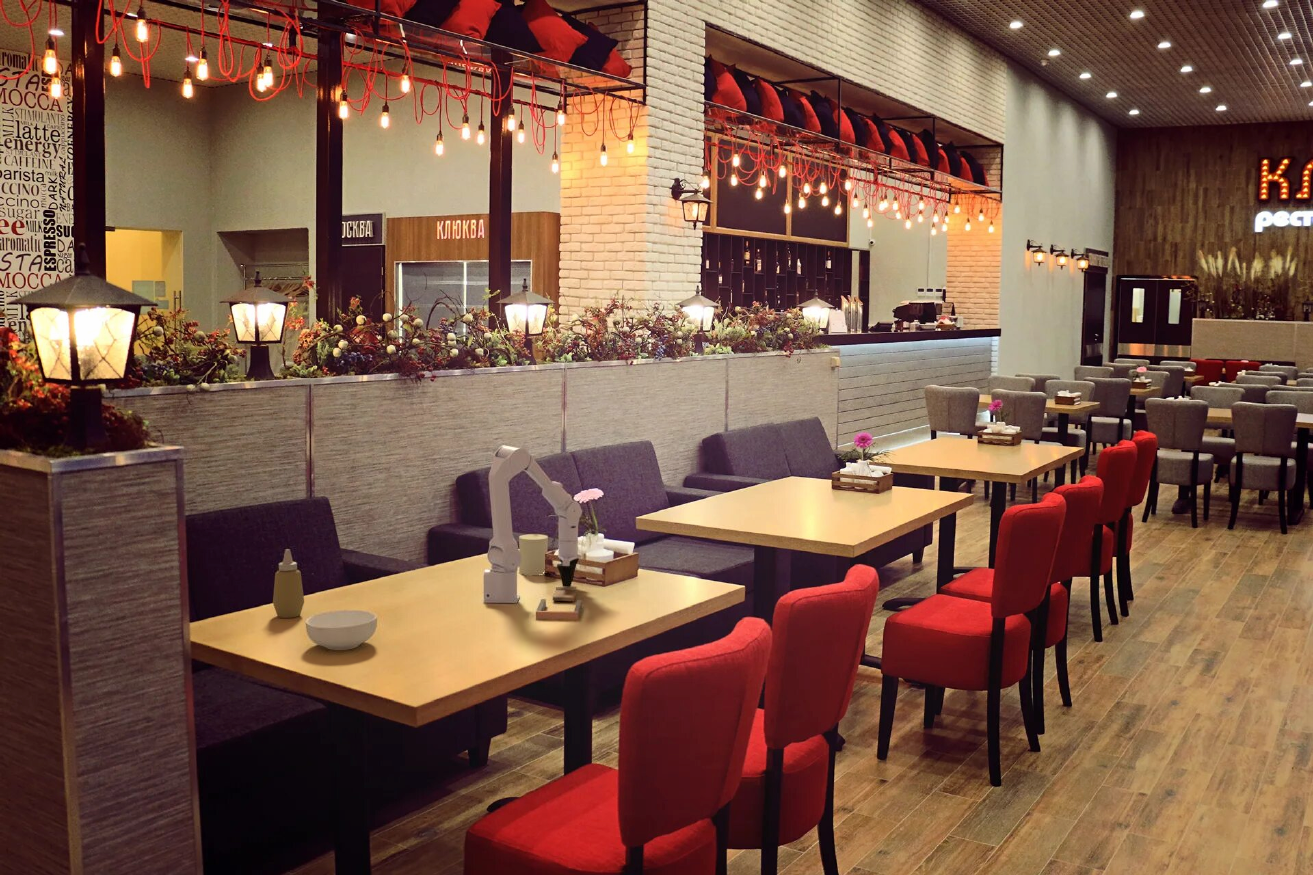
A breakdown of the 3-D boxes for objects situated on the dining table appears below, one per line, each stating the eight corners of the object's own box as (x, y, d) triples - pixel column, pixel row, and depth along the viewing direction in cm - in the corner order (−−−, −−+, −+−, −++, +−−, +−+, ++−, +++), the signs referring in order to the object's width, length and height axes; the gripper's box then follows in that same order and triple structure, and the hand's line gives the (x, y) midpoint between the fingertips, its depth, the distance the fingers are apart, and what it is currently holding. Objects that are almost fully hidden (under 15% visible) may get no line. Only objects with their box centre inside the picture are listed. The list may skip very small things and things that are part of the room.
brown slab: (552, 602, 330) (552, 594, 330) (556, 594, 340) (556, 586, 340) (573, 602, 330) (573, 594, 330) (576, 594, 340) (576, 586, 340)
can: (550, 569, 372) (550, 533, 371) (544, 576, 363) (545, 538, 362) (522, 568, 373) (522, 532, 372) (515, 575, 364) (515, 537, 363)
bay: (535, 618, 312) (535, 611, 312) (541, 605, 326) (541, 598, 326) (578, 619, 312) (578, 612, 312) (582, 606, 326) (582, 599, 326)
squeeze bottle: (295, 620, 308) (293, 553, 306) (267, 618, 309) (265, 551, 307) (310, 612, 315) (308, 547, 313) (282, 610, 317) (281, 546, 315)
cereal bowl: (350, 632, 297) (350, 605, 296) (391, 645, 286) (391, 617, 286) (292, 646, 284) (291, 618, 283) (332, 660, 273) (332, 630, 273)
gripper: (579, 544, 337) (579, 590, 338) (583, 535, 351) (583, 579, 352) (555, 544, 337) (555, 590, 338) (560, 534, 351) (559, 579, 353)
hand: (567, 584), depth 345 cm, fingers open, 7 cm apart
